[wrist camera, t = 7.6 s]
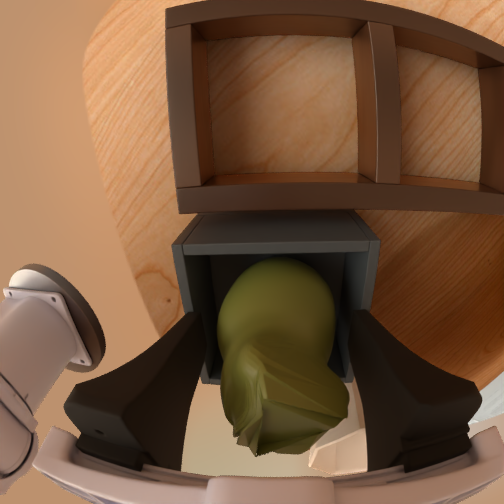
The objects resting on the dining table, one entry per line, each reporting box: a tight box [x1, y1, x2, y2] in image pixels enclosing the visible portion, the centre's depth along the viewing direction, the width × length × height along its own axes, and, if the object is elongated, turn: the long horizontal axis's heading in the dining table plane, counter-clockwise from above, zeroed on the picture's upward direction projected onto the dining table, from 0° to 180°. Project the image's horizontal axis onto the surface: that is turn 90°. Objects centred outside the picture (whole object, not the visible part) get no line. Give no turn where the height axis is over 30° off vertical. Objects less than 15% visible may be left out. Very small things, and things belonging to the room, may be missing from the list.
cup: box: [308, 377, 367, 475], centre depth 16 cm, size 7×10×8 cm
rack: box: [165, 0, 504, 215], centre depth 11 cm, size 10×19×3 cm, turn 93°
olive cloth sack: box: [217, 257, 350, 457], centre depth 12 cm, size 6×5×10 cm
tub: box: [171, 209, 381, 385], centre depth 15 cm, size 8×8×5 cm
